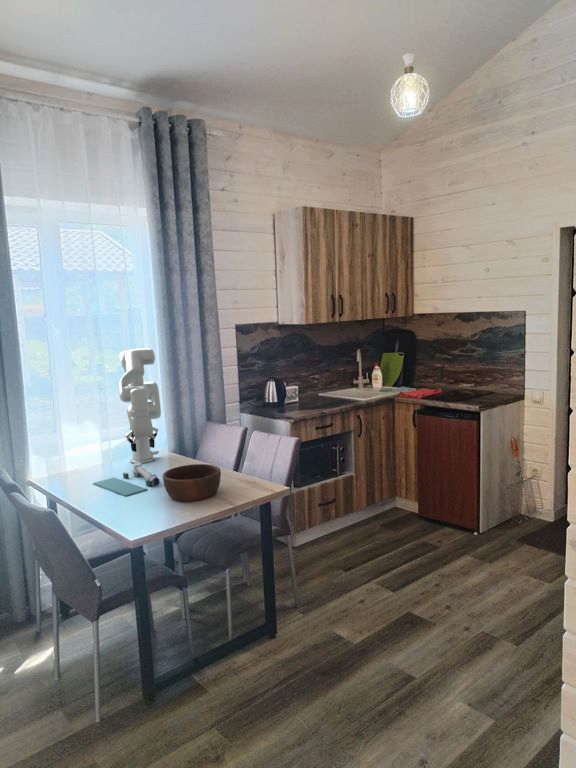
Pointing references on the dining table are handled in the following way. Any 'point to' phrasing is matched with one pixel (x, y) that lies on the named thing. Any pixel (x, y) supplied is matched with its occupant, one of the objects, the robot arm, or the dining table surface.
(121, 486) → the mat
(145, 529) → the dining table surface
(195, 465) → the wooden bowl
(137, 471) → the grey tube
